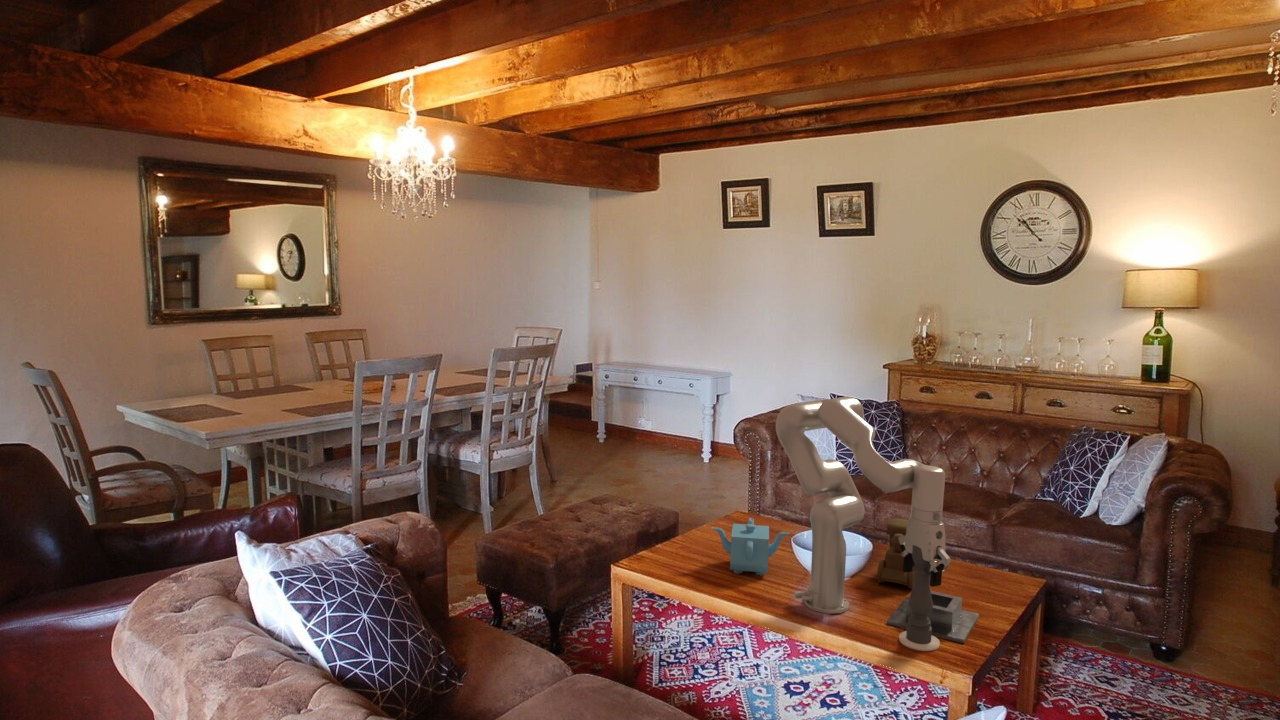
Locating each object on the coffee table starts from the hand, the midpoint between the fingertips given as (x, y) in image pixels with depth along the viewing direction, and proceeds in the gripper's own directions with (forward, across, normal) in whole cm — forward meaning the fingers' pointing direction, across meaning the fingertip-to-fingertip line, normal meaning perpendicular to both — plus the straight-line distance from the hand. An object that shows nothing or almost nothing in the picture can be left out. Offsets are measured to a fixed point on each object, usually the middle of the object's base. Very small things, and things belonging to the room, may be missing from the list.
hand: (921, 578), depth 204 cm
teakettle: (+18, +61, +14) cm, 65 cm away
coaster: (+17, -1, 0) cm, 17 cm away
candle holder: (+16, 0, 0) cm, 17 cm away
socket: (+17, +8, -14) cm, 23 cm away
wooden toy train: (+18, +36, -26) cm, 48 cm away
